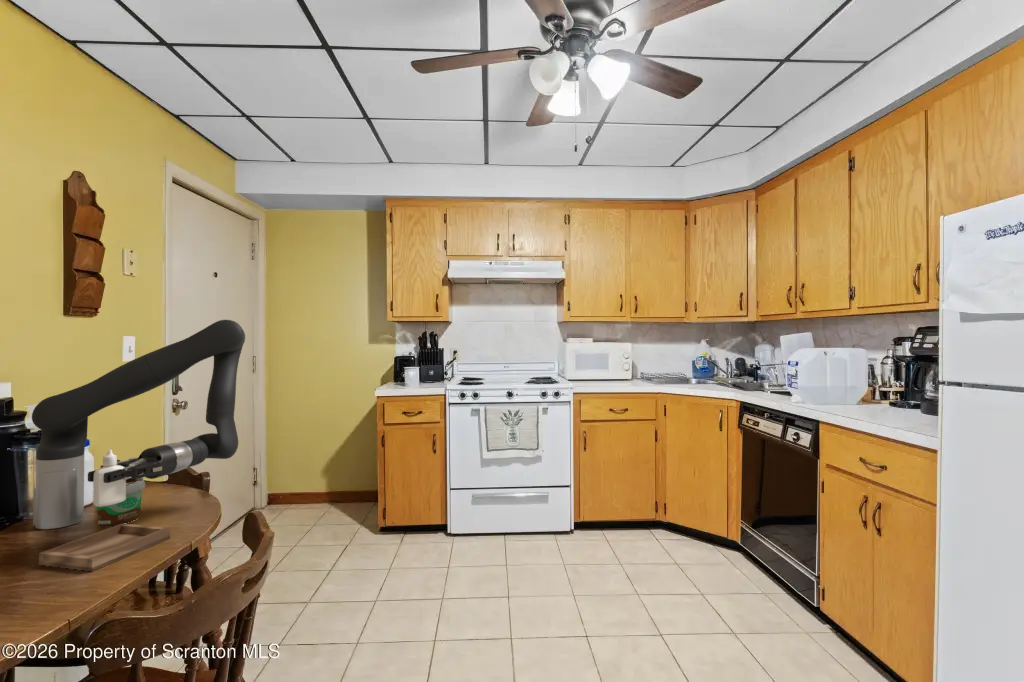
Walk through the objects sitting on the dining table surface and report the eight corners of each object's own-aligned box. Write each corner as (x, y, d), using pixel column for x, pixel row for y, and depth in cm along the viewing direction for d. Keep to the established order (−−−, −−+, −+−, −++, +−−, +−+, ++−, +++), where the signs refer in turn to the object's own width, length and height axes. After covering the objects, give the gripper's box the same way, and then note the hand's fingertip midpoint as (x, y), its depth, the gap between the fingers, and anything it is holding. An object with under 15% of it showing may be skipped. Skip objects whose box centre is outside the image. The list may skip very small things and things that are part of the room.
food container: (112, 531, 124) (113, 490, 124) (92, 529, 125) (93, 489, 125) (157, 514, 136) (157, 477, 136) (138, 512, 137) (138, 476, 137)
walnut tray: (38, 565, 105) (38, 553, 105) (121, 533, 122) (122, 523, 122) (92, 571, 102) (92, 559, 102) (169, 538, 119) (169, 528, 119)
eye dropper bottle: (124, 503, 112) (124, 450, 112) (91, 508, 109) (91, 453, 109) (127, 498, 116) (126, 446, 116) (95, 502, 113) (95, 449, 113)
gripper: (143, 443, 128) (71, 459, 111) (189, 445, 125) (123, 462, 108) (143, 472, 128) (71, 492, 111) (189, 475, 125) (123, 497, 108)
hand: (97, 477), depth 110 cm, fingers closed on eye dropper bottle, 3 cm apart
